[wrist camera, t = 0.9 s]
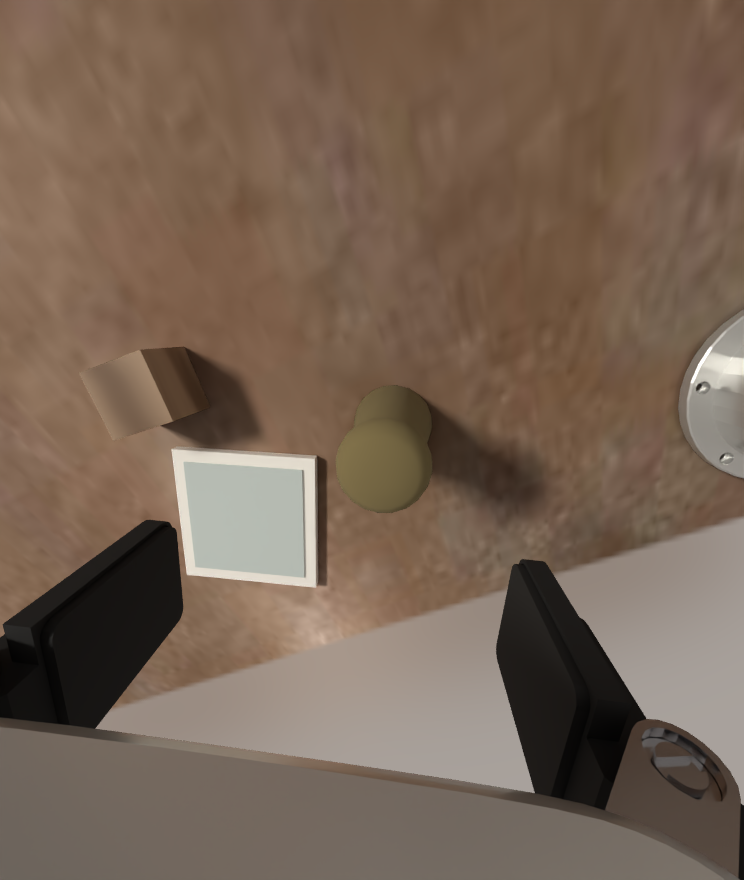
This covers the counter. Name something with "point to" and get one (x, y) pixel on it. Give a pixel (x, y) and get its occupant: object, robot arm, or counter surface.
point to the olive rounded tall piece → (387, 451)
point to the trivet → (248, 514)
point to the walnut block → (144, 390)
